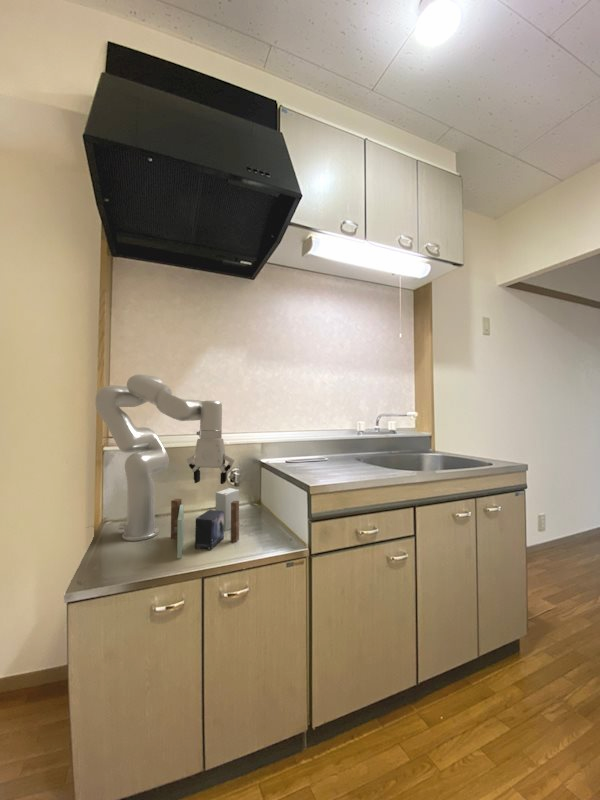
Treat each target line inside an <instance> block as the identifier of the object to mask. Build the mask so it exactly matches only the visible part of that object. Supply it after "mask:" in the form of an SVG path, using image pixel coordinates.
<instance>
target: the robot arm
mask: <svg viewBox="0 0 600 800" xmlns="http://www.w3.org/2000/svg"><path fill="white" fill-rule="evenodd" d="M94 399H95V401H94V402H95V403H94V404H95V408H96V412H97V415H99V416H100V418H101V419H102V421H103V422H104V423H105V425H106V426H107V429H108V431H109V433H110V435H111V437H112V438H113V440H114V442H115V444H116V445H117V448H118V449H119V451H120V452H123V453H125V454H126V453H128V454H129V453H132V454H130V455H128V457H127V458H126V460H125V462H124V470H125V475H126V482H127V483H126V484H127V486H126V487H127V491H126V492H127V507H126V511H127V513H126V514H127V515H126V521H127V522H123V521H122V522H119V526H118V530H123V531H124V532H123V533H122V535H121V537H122V539H123V541H129V542H131V541H132V542H137V541H142V540H148V539H151V538H154V537H155V536H157V535H158V534H159V533H160V532H159V531H160V529H159V527H157V526H155V525H156V523H155V522H156V521H155V519H156V514H155V513H156V512H155V511H156V506H155V505H156V503H155V502H156V485H155V482H154V480H153V478H152V475H154V474H157V473H163V472H164V471H165V470H166V469H168V467H169V465H170V458H169V454H168V452H167V450H166V448H165V447H164V444H163V443H162V442H161V439H160V438H159V435H158V434H157V433H156V432H155V431H154V430H153V429H151V428H149V427H145V426H143V427H137V426H136V425H135V424H134V422H133V421H132V419H131V417H130V416H129V415H128V414H127V412H126V411H124V410H122V408H135V407H140V406H141V405H143V404H145V403H150V404H152V405H154V406H155V407H156V409H158V411H159V412H160V413H162V414H163V415H165V416H168V417H169V418H171V419H174V420H176V421H179V422H180V421H181V422H185V421H187V422H192V421H200V422H199V424H200V425H199V430H198V431H196V436H199V438H197V439H196V440H197V441H196V443H195V444H196V445H195V451H194V455H192V456H190V457H188V458H187V459H186V461H187V464H188V467H189V468H190V469H191V471H192V472H193V482H194V484H197V483H199V482H200V481H201V470H200V469H201V468H216V469H217V468H218V469H219V470H220V471H221V472H220V484H221V485H224V484H225V483H226V482H227V475H228V473H227V472H228V471H229V470H230V469H231V468H232V466H233V464H234V462H235V460H234V459H233V458H231V457H230V456H228V455H227V454H226V449H225V447H226V446H225V442H224V438H222V437H223V436H222V434H223V433H222V431H223V430H222V429H223V426H222V425H223V421H222V420H223V405H222V404H223V403H222V402H221V401H219V400H198V399H197V400H196V399H182V398H180V397H179V396H178V397H177V396H175V395H173V392H172V388H170V386H168V385H166V384H164V382H163V381H162V379H160V378H159V377H157V376H153V375H146V374H134V375H132V376H130V377H129V378H128V379H127V380H126V386H125V385H115V384H114V385H107V386H106V385H105V386H103V387H100V389H99V390H98V391H97V392H96V395H95V398H94ZM226 461H227V462H228V464H226ZM225 464H226V465H225Z"/></svg>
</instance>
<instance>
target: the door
mask: <svg viewBox="0 0 600 800" xmlns="http://www.w3.org/2000/svg"><path fill="white" fill-rule="evenodd" d="M184 505H185V504H184V503H181V504H180V509H179V515H178V527H174V533H177V532H178V539H177V559H181V558H182V554H183V545H184V533H185V532H184V528H185V527H184V526H185V525H184V519H185V517H184V516H185V515H184V514H185V513H184V512H185V510H184V507H185V506H184Z"/></svg>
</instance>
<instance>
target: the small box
mask: <svg viewBox="0 0 600 800" xmlns="http://www.w3.org/2000/svg"><path fill="white" fill-rule="evenodd" d="M194 529H195V531H194V533H195V535H194V536H195V537H194V549H195V550H203V549H205V550H206V551H211V550H213V549H214V548H215V547H216V546H218V545H219V544H220V543H221V542H222V541H223V540H224V538H225V535H224V534H225V533H224V532H225V531H224V511H217V510H216V509H209V510H207V511H205V512H204V513H203V514H200V515H198V516H197V517H196V518H195V528H194Z"/></svg>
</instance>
